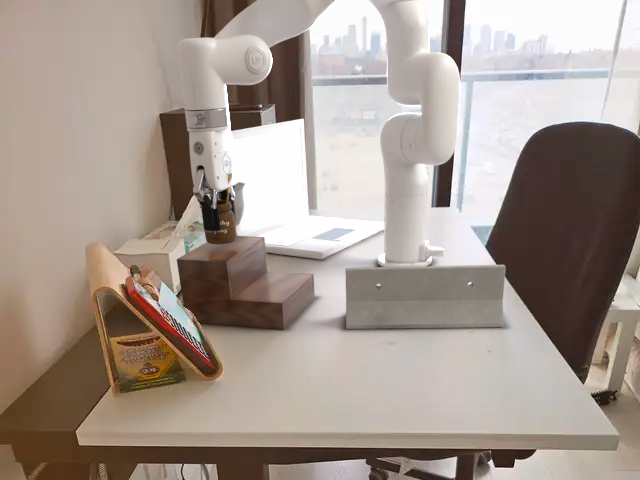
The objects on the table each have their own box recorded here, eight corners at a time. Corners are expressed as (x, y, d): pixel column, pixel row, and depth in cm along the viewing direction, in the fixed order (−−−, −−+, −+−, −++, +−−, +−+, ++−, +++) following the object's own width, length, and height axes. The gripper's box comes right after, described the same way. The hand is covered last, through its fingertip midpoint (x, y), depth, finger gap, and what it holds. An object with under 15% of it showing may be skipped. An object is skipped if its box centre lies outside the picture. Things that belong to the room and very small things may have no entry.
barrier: (346, 329, 117) (344, 274, 112) (347, 315, 123) (346, 262, 118) (503, 327, 114) (508, 271, 109) (496, 313, 121) (501, 259, 116)
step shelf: (314, 297, 133) (311, 238, 127) (284, 329, 118) (279, 264, 112) (225, 292, 138) (219, 235, 132) (185, 321, 124) (176, 259, 118)
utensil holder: (211, 237, 126) (203, 171, 120) (242, 237, 125) (235, 171, 119) (201, 244, 121) (192, 177, 115) (233, 245, 120) (225, 176, 114)
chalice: (257, 259, 160) (250, 182, 151) (245, 266, 155) (237, 187, 146) (230, 257, 162) (222, 181, 153) (218, 265, 157) (208, 187, 148)
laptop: (323, 260, 157) (318, 133, 143) (232, 248, 170) (219, 132, 156) (387, 229, 181) (388, 118, 168) (304, 221, 195) (298, 118, 181)
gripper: (205, 125, 105) (218, 238, 114) (247, 115, 119) (256, 216, 128) (164, 126, 107) (180, 236, 116) (210, 116, 121) (222, 215, 130)
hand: (220, 225), depth 122 cm, fingers closed on utensil holder, 6 cm apart
